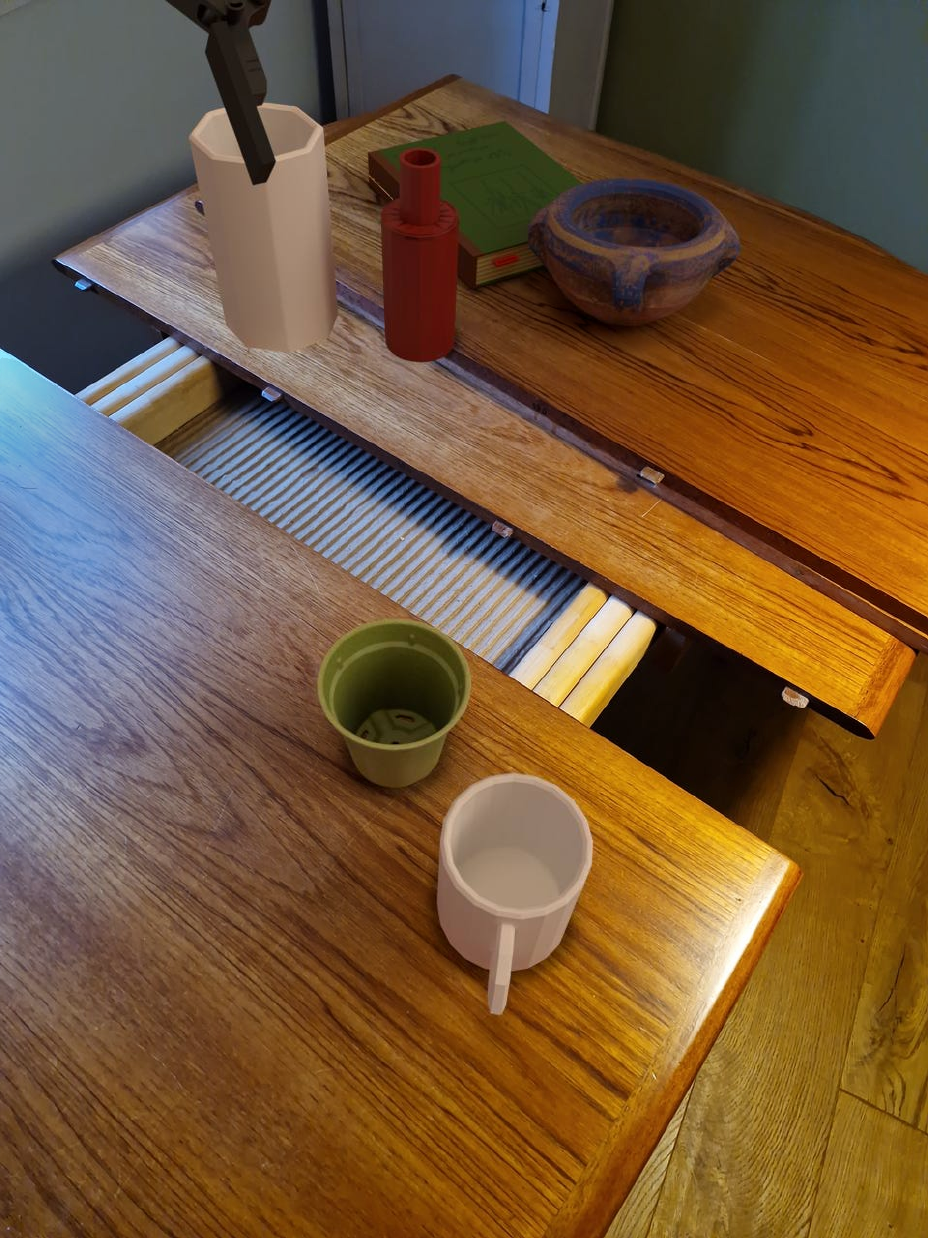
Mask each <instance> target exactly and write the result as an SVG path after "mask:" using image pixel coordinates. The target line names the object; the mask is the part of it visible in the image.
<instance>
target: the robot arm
mask: <svg viewBox="0 0 928 1238" xmlns="http://www.w3.org/2000/svg"><path fill="white" fill-rule="evenodd" d="M164 1H165V2H167V3H168V4H169V5H171V6H172V7H173V8H174V9H176V10H177V11H178V12H180V13H181V14H182V15H183V16H185V17H186V18H187V19H189V20H190V21H191V22H192V23H193V24H195V25H197V26H198V27H199V28H200V29H202V30H203V31H204V32H205V33H207V34H208V36H207V40H206V44H205V49H204V55H205V57H206V60H207V62H208V63H207V64H208V65H209V68H210V71H211V73H212V76H213V79H214V82H215V85H216V88H217V91H218V93H219V95H220V98H221V101H222V104H223V106H224V107H223V108H225V110H226V113H227V115H228V118H229V121H230V124H231V126H232V129H233V132H234V135H235V137H236V140H237V143H238V146H239V149H240V151H241V154H242V157H243V160H244V162H245V165H246V168H247V171H248V173H249V176H250V179H251V182H252V184H253V185H257V184H262V183H266V182H267V180H268V178H269V176H270V174H271V172H272V170H273V168H274V165H275V163H276V159H275V157H274V154H273V151H272V148H271V145H270V143H269V140H268V137H267V134H266V131H265V128H264V126H263V123H262V120H261V117H260V114H259V112H258V109H257V106H262V104H263V103H265V100H266V99H265V98H266V96H267V93H268V80H267V76H266V74H265V71H264V69H263V65H262V63H261V60H260V58H259V57H260V56H259V54H258V52H257V48H256V46H255V43H254V39H253V37H252V34H251V31H250V29H251V28H252V27H258V26H261V25H263V24H264V22H265V21H266V18H267V15H268V13H269V9H270V6H271V3H272V0H164Z"/></svg>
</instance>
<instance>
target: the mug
mask: <svg viewBox="0 0 928 1238" xmlns="http://www.w3.org/2000/svg"><path fill="white" fill-rule="evenodd" d="M440 832H441V833H440V839H439V847H438V849H439V851H438V869H437V872H438V873H437V892H436V906H437V913H438V919H439V925H440V928H441V929H442V931H443V933H444V935H445V937H446V939H447V941H448V943H449V944H450V945H451V947H452V948H453V949H455V951H457V952H458V953H459V954H460V955H461V957H463V959H465V960H466V961H469V962H470V963H472V964H474V965H476V966H478V967H480V968H482V969H483V970H489V975H488V984H487V986H488V987H487V1005H488V1008H489V1009H488V1010H489V1012H490V1014H492V1015H499V1016H501V1015H502V1014H503V1011H504V1010H505V1009H506V1006H507V1001H508V994H509V989H510V982H511V975H512V972H517V971H522V970H527V969H531V968H532V967H533V966H535V965H537V964H539V963H540V962H543V961H545V960H546V959H547V958H548V957H549V956H550V955H551V954H552V953H553V952H554V950H555V949H556V948H557V947H558V946H559V945H560V943H561V942H562V939H563V937H564V934H565V932H566V929H567V927H568V924H569V923H570V919H571V917H572V915H573V912H574V910H575V907H576V906H577V902H578V900H579V897H580V895H581V892H582V890H583V888H584V885H585V882H586V880H587V878H588V876H589V872H590V870H591V868H592V865H593V850H594V841H593V836H592V833H591V829H590V827H589V823H588V820H587V817H586V816H585V814H583V812H582V810H581V808H580V807H579V806H578V803H576V801H575V800H574V799H573V798H572V797H571V796H570V795H569V794H567V793H566V792H565V791H564V790H562V789H561V788H560V787H559V786H558V785H557V784H554V783H552V782H551V781H547V780H545V779H544V778H541V777H538V776H536V775H531V774H524V773H517V772H509V773H502V774H494V775H489V776H487V777H485V778H483V779H480V780H478V781H477V782H474V783H473V784H470V785H469V786H467V788H466V789H465V790H463V792H462V793H460V794H459V795H458V796H457V797H456V798H455V799H454V800H453V801H452V803H451V805H450V807H449V809H448V811H447V812H446V815H445V816H444V818H443V820H442V826H441V830H440Z"/></svg>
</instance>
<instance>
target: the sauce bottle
mask: <svg viewBox="0 0 928 1238" xmlns="http://www.w3.org/2000/svg"><path fill="white" fill-rule="evenodd" d="M399 184H400V198H399V199H395V200H393V201H391V202H390V203H387V204H385V205H384V206H383V207H382V210H381V212H380V238H381V240H380V241H381V266H382V269H381V270H382V294H383V295H382V297H383V320H384V321H383V322H384V323H383V324H384V338H385V339H384V340H385V345H386V347H387V349H388V351H389V352H390V353H391V354H392V355H393V356H395V357H397V358H399V359H401V360H404V361H407V362H412V363H430V362H434V361H435V362H436V361H438V360H441V359H442V358H444V357H445V356H446V357H447V355H448V354H450V352H451V351H452V350H453V347H454V346H455V338H456V319H457V318H456V317H457V292H458V291H457V290H458V275H457V268H458V241H459V215H458V212H457V210H456V208H455V207H453V206H452V205H451V204H450V203H448V202H447V201H444V200H441V199H440V186H441V157H440V156H439V154H438V153H437V152H435V151H433V150H431V149H425V148H413V149H408V150H406V151H404V152H402V153H401V155H400V157H399Z"/></svg>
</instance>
